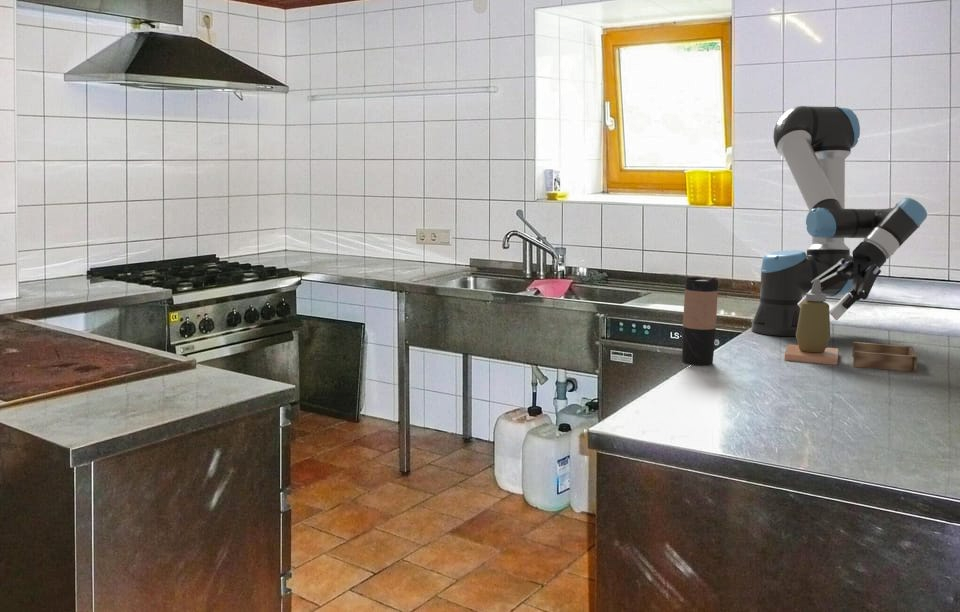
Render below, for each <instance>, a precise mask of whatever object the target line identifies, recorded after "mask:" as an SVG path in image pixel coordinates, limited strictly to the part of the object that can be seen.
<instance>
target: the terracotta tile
mask: <svg viewBox="0 0 960 612" xmlns="http://www.w3.org/2000/svg"><path fill="white" fill-rule="evenodd" d="M838 359H839V348H836V347H835V348H834V347H826V349H825V351H824V352H820V353H810V352H805V351H801V350H800V349H799V346H798V344H787V346H786V349H785V353H784V361H789V362H790V361H791V362H802V363H803V362H804V363H814V364H823V365H825V364H826V365H834V366H835V365H838V363H839V362H838V361H839V360H838Z"/></svg>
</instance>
